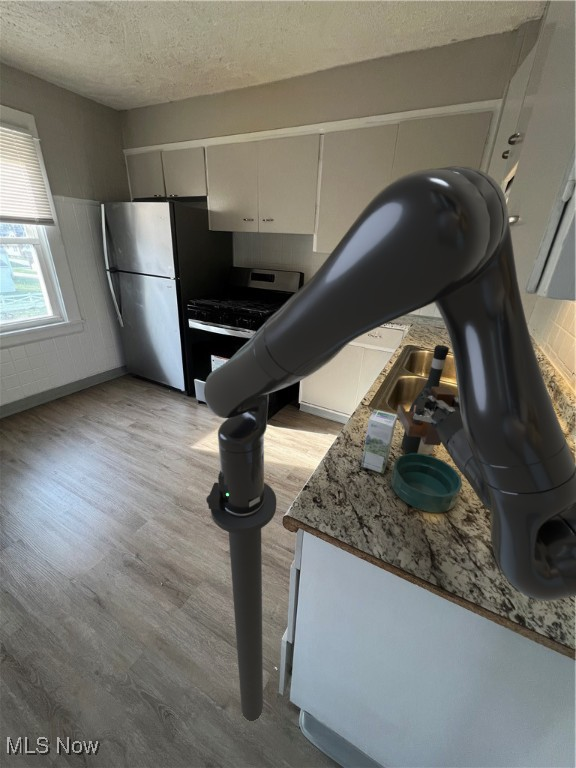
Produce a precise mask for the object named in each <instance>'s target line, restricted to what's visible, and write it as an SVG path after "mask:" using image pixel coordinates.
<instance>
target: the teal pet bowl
mask: <svg viewBox="0 0 576 768" xmlns="http://www.w3.org/2000/svg"><path fill="white" fill-rule="evenodd" d="M393 463H394V464H393V467H392V472H391V477H390V485H391V488H392V490H393V492H394V493H395V494H396V495H397V497H398V498H400V499H401V500H402V501H403V502H404V503H406V504H408V505H409V506H411V507H413V508H415V509H418V510H421V511H424V512H427V513H444V512H448V511H450V510H451V509H453V508H454V507H455V506H456V504H457V501H458V499H459V495H460V493H461V491H462V488H463V482H462V477H461V476H460V474H459V473H458V471H457V470H456V469H455V468H454V467H453V466H452V465H450V464H449V463H447V462H445V461H444V460H443V459H441V458H439V457H436V456H433V455H426V454H421V453H409V454H407V453H404V454H402V455H400V456H398V457H397V458H396V459H395V461H394V462H393Z"/></svg>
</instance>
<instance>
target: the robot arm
mask: <svg viewBox="0 0 576 768" xmlns="http://www.w3.org/2000/svg"><path fill="white" fill-rule="evenodd" d="M511 231H512V230H511V224H510V218H509V210H508V204H507V200H506V196H505V194H504V191H503V189H502V187H501V186H500V185H499V184H498V182H497V181H496V180H495V179H494V178H493V177H492V176H490V175H489V174H488V173H486V172H485V171H483V170H480V169H477V168H474V167H470V166H460V165H454V166H453V165H452V166H447V167H439V168H438V167H437V168H427V169H420V170H416V171H413V172H410V173H407V174H404V175H402V176H400V177H398V178H397V179H396V180H394V181H392V182H390V183H389V184H388V185H386V186H385V187H383V189H381V190H380V191H379V192H378V193H377V194H376V195H375V196H374V197H373V198H372V199H371V200H370V202H369V203H368V204H367V205H366V206H365V207H364V209H363V210H362V211H361V213H360V214H359V215H358V216H357V218H356V219H355V220H354V222H353V223H352V224H351V226H350V227H349V228H348V229H347V231H346V232H345V234H344V235H343V236H342V238H341V239H340V241H338V243H337V245H336V246H335V247H334V248H333V250H332V252H330V254H329V255H328V256H327V258H326V259H325V261H324V262H323V263H322V265H320V267H319V268H318V269H317V270H316V272H315V273H314V274H313V276H312V277H311V278H309V280H308V281H307V282H306V283H305V284H304V285H302V286H301V287H300V288H299V289H297V290H296V291H295V292H294V293H293V294H292V295H291V296H290V297H288V299H287V300H286V301H285V302H284V303H283V304H282V305H281V306H280V307H278V308H277V309H276V310H275V311H274V312H273V313H272V314H271V315H270V316H269V317H268V318H267V319H266V320H265V322H264V323H263V324H262V325H261V326H260V327H259V328H258V329H257V330H256V331H255V332H254V333H253V335H252V336H251V337H250V338H249V339H248V340H247V341H246V342H245V343H244V344H243V345H242V346H241V347H240V348H239V349H238V350H237V351H236V352H235V354H233V355H232V357H230V358H229V359H228V360H227V361H226V362H224V363H223V364H222V365H220V366H218V367H217V368H216V369H214V370H213V371H211V372H210V373H209V375H208V376H207V377H206V380H205V383H204V388H203V390H204V391H203V395H204V401H205V404H206V405H207V408H208V409H209V410H210V412H211V413H212V414H214V415H215V416H217V417H218V418H221V419H225V420H224V421H223V422H222V423H221V424H220V425H219V427H218V430H217V441H218V442H217V443H218V454H219V465H220V470H219V472H218V475H217V482H214V483H213V485H212V488H211V490H210V493H209V494H208V495H207V497H206V503H207V505H208V510H211V509H215V510H220V508H221V510H224V511H226V512H227V513H228V514H230V515H231V516H234V517H239V518H244V517H249V516H252V515H254V514H256V513H258V512H259V511H260V510H261V509H262V507H263V505H264V483H265V442H264V441H265V433H266V431H267V426H268V414H269V413H268V411H269V394H271V393H274V392H277V391H280V390H283V389H286V388H288V387H291V386H293V385H295V384H296V383H299V382H301V381H303V380H304V379H306V378H308V377H309V376H311V375H313V374H315V373H316V372H318V371H320V370H321V369H322V368H323V367H325V366H326V365H328V364H330V363H331V361H333V360H334V359H335V358H336V357H337V356H338V355H339V354H340V353H341V351H342V350H343V349H344V348H345V347H347V346H348V345H349V344H350V343H351V342H353V341H354V340H356V339H358V338H359V337H361V336H363V335H365V334H367V333H369V332H371V331H373V330H375V329H377V328H380V327H382V326H383V325H385V324H388V323H390V322H393V321H395V320H397V319H399V318H401V317H404V316H406V315H409V314H411V313H413V312H415V311H418V310H420V309H422V308H425V307H427V306H430V305H432V304H434V305H435V306H436V308H437V310H438V312H439V314H440V317H441V319H442V322H443V324H444V327H445V330H446V332H447V336H448V339H449V343H450V348H451V352H452V357H453V363H454V370H455V379H456V388H457V389H456V390H457V396H456V395H455V394H454V399H453V402H452V406H451V407H449V406H448V405H447V404H446V403H445V402H444V401H442V400H438V399H437V398H435V396H434V394H433V393H432V392H431V390H430V389H429V388H425V389H424V390H423V391H422V390H421V391H422V395H421V397H419V400H418V403H417V405H416V408H415V413H414V417H413V423H415V424H420V421H425V422H429V423H430V425H431V426H432V427H433V428H435V429H436V430H437V432H438V435H439V438H440V441H441V444H442V446H443V447H444V449H445V451H446V452H447V454H448V455H449V457H450V459H451V460H452V462H453V463H454V465H455V467H456V468H457V469H458V471H459V472H460V473H461V474H462V475H463V476H464V478H465V479H466V480H467V482H468V484H469V485H470V487H471V488H472V490H473V491H474V493H475V495H476V497H477V498H478V499H479V501H480V502H481V504H482V505H483V506H484V508H485V509H486V510H487V511H488V512H489V527H490V530H489V531H490V541H491V548H492V551H493V556H494V555H495V556H494V559H495V561H496V563H497V566H498V568H499V570H500V572H501V573H502V575H503V576H504V578H505V579H506V581H508V583H509V584H510V586H512V587H513V588H514V589H516V590H517V591H518V592H520V593H521V594H522V595H525V596H527V597H528V598H531V599H532V600H533V599H534V600H536V601H539V602H540V601H541V602H552V601H556V600H557V601H558V600H561V599H562V600H563V599H567V598H572V597H576V464H575V461H574V459H573V456H572V453H571V450H570V447H569V445H568V443H567V438H566V437H565V434H564V432H563V428H562V426H561V423H560V422H559V419H558V416H557V413H556V410H555V407H554V405H553V401H552V399H551V396H550V393H549V390H548V388H547V385H546V382H545V379H544V376H543V373H542V370H541V368H540V364H539V361H538V358H537V354H536V352H535V351H536V350H535V348H534V345H533V341H532V337H531V334H530V330H529V327H528V323H527V318H526V315H525V309H524V305H523V299H522V295H521V291H520V286H519V281H518V275H517V269H516V268H517V267H516V260H515V253H514V247H513V246H514V245H513V238H512V232H511ZM426 410H427V411H428V412H429V413H430V415H429V414H428V412H427V411H426Z"/></svg>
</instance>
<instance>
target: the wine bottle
mask: <svg viewBox="0 0 576 768" xmlns="http://www.w3.org/2000/svg"><path fill="white" fill-rule="evenodd" d="M449 352H450V348H449V347H448V346H447V345H443V344H437V345H435V346H434V349H433V357H432V361H431V365H430V370H429V372H428V377H427V381H426V383H425V385H424V387H423V388H422V389H421V390H420V392H419V394H418V395H417V396H416V397H415V399H413V402H412V403H411V405H410V407H409V409H408V411H411V412H413V411H414V406H415V405H417V403H418V400H419V397H421V395H422V391H423V390H424V389H425V388H429V389H430V390H431V389H432V387H440V382H441V377H442V374H443V370H444V367H445V363H446V359H447V355H448V354H449ZM435 447H436V445H425V444H424V443H423V441H422V439H421V437H412V436H407V434H406V432H405V430H404V432H403V436H402V440H401V448H402V449H403V451H404V452H405V454H409V453H421V454H426V455H430V456H432V454H433V452H434V449H435Z"/></svg>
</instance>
